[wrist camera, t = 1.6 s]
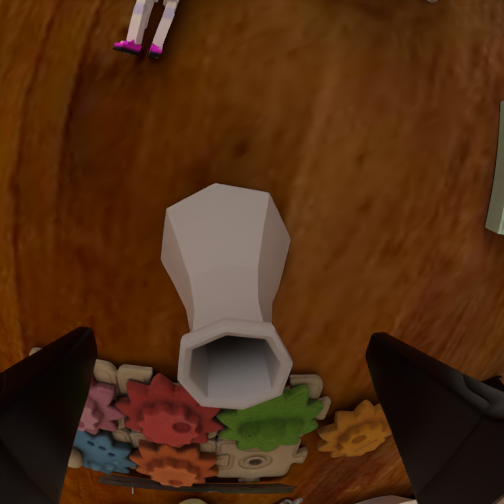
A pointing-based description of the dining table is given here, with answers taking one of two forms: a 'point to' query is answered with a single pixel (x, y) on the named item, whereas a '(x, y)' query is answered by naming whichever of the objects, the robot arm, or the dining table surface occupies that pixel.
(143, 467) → the gear puzzle
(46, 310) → the dining table surface
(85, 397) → the robot arm
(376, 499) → the white plate
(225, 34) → the dining table surface
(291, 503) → the rocket launcher
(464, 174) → the dining table surface
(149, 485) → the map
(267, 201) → the flask
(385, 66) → the dining table surface
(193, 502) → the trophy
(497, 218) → the scale
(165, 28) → the character figurine
